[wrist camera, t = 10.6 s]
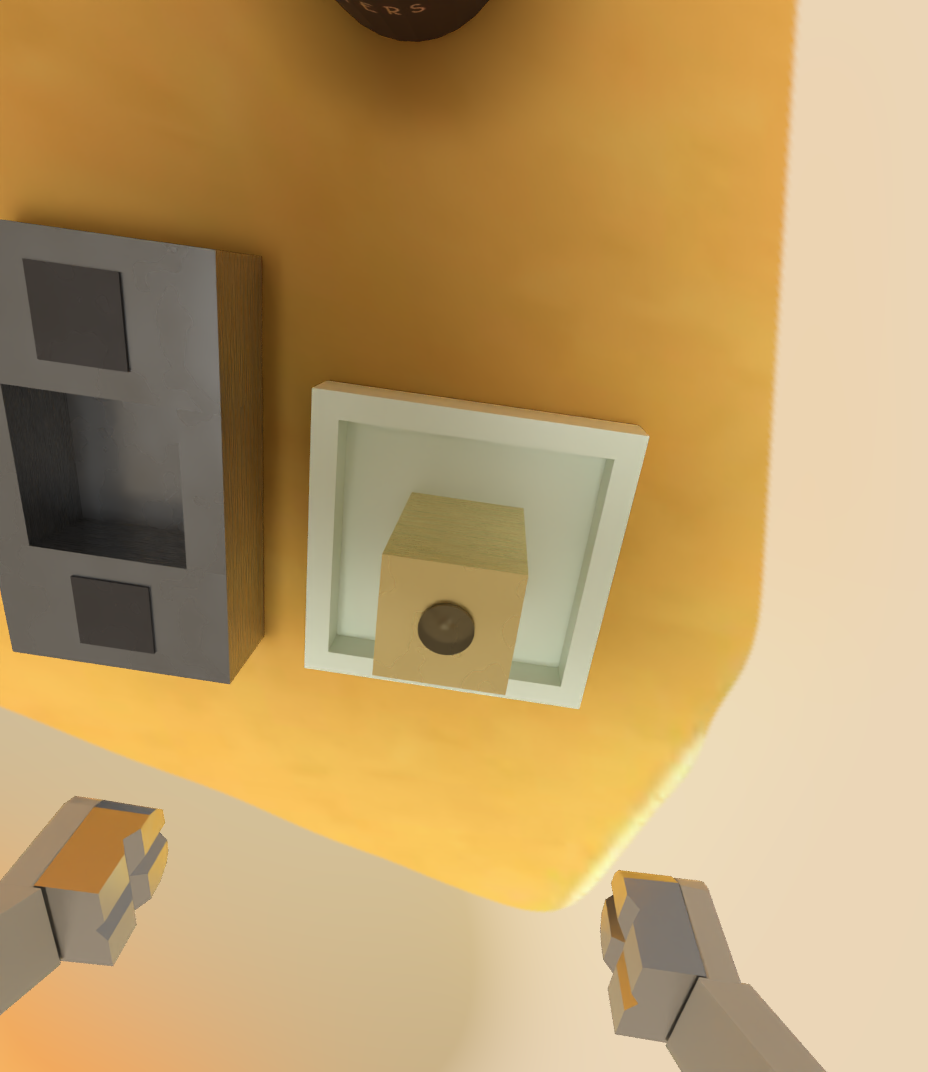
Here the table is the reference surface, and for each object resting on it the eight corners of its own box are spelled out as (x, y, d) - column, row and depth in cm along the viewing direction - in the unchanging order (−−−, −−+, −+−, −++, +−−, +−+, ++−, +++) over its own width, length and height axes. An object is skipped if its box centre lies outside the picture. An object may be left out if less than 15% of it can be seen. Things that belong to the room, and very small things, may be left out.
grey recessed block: (14, 221, 21) (-82, 207, 18) (261, 256, 21) (213, 249, 17) (73, 607, 27) (11, 652, 24) (263, 636, 27) (228, 685, 24)
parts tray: (326, 380, 22) (311, 387, 21) (638, 425, 22) (649, 436, 20) (317, 644, 27) (304, 667, 25) (574, 682, 27) (579, 709, 25)
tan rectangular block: (412, 492, 23) (380, 556, 18) (523, 508, 23) (528, 578, 18) (401, 590, 25) (370, 678, 19) (505, 606, 25) (505, 699, 19)
